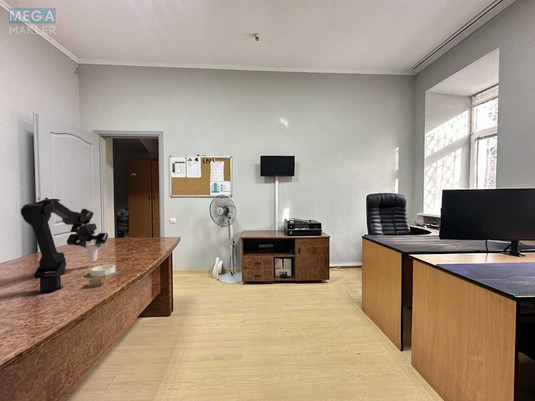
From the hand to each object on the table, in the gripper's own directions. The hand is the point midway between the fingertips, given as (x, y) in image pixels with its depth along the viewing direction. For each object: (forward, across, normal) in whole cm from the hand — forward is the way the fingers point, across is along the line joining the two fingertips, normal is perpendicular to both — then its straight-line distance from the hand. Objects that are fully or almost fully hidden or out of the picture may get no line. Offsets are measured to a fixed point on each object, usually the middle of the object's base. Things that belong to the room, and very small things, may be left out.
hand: (93, 247), depth 139 cm
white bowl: (-3, -12, +19) cm, 23 cm away
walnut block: (-15, -18, +32) cm, 40 cm away
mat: (-3, -12, +19) cm, 23 cm away
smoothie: (+5, 0, +6) cm, 8 cm away
